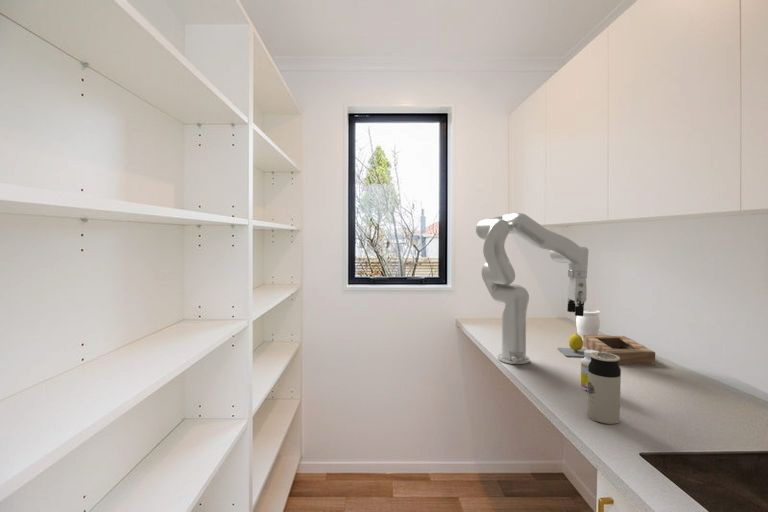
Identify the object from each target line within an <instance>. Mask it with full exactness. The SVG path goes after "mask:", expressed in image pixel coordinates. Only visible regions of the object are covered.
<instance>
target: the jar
mask: <svg viewBox="0 0 768 512" xmlns="http://www.w3.org/2000/svg"><path fill="white" fill-rule="evenodd" d="M600 314H601V311H600V310H597V309H591V308H584V312H583V316H576V318H575V319H576V320H575V326H576V331H577V335H579V336H580V337H581V338H582V340H583V335H599V330H600V324H601V319H600Z"/></svg>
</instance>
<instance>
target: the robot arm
mask: <svg viewBox="0 0 768 512" xmlns="http://www.w3.org/2000/svg"><path fill="white" fill-rule="evenodd" d="M475 233H476V234H477V236H478V237H479V238H480V239H482V240H484V243H483V247H482V252H483V258H484V260H485V263H483V265H482V268H481V277H482V281H483V282H484V285H485V286H486V288H487V290H488V293H489V294H490V296H491V298H492V299H493V300H494V302H495V303H498V304H500V305H504V308H503V312H502V315H501V322H502V323H501V353H499V354H498V355H497V359H498V361H500V362H502V363H506V364H510V365H525V364H528V363H530V360H531V358H530V357H529V356H527V355H526V353H527V347H526V346H527V312H528V306H529V301H530V294H529V291H528V290H527V289H526V288H525V287H524V286H522V285H519V284H515V283H513V282H514V281H515V280H516V272H515V269H514V267H513V265H512V263H511V260H510V259H509V257H508V254H507V252H506V249H505V245H506V239H507V238H508V235H509V234H514V235H515V234H516V235H518V236H519V237H521V238H522V239H524V240H525V241H527V242H528V243H529V244H531V246H534V247H535V248H538V249H543V250H547V251H549V257H550V259H551V260H552V261H554V262H555V263H561V264H568V266H567V278H568V279H569V280H568V286H567V308H566V309H567V310H566V311H567V313H574V316H575V317H577V316H583V312H584V309H585V303H586V301H587V289H588V288H587V279H588V263H589V248H588V247H587V246H580V245H579V244H577V243H576V242H575V241H573V240H571V239H570V238H569V237H566V236H564V235H562V234H559V233H558V232H557V233H556V232H554V231H552V230H549V229H547V228H546V227H544V226H543V225H542V224H540V223H538V222H537V221H536V220H534V219H533V218H532V217H530V216H529V215H527V214H526V213H522V212H515V213H507V214H502V215H499V216H495V217H489V218H485V219H481V220H480V221H479V222H478V223H477V225H476V227H475Z"/></svg>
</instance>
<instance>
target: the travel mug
mask: <svg viewBox="0 0 768 512" xmlns="http://www.w3.org/2000/svg"><path fill="white" fill-rule="evenodd" d="M590 357H591V362H590V363H589V365H588V391H587V412H586V413H587V414H586V415H587V416H588V417H589V418H590V419H591V420H593V421H595V422H598V423H601V424H606V425H614V424H617V423H619V422H620V416H621V415H620V414H621V411H620V410H621V381H622V380H621V379H622V378H621V376H622V373H621V372H622V371H621V370H622V369H621V367H620V364H618V362H619V360H620V357H619V356H617V355H614V354H611V353H605V352H592V353H590Z"/></svg>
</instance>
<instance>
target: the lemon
mask: <svg viewBox="0 0 768 512" xmlns="http://www.w3.org/2000/svg"><path fill="white" fill-rule="evenodd" d="M568 345H569V348H571V349H573V350H574V351H575V352H576V351H578V350H580V349H581V348H583V347H584V346H583V340H582V338H581V337H580V336H579V335H578V333H574V334H572V335H571V336H570V337H569V340H568Z"/></svg>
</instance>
